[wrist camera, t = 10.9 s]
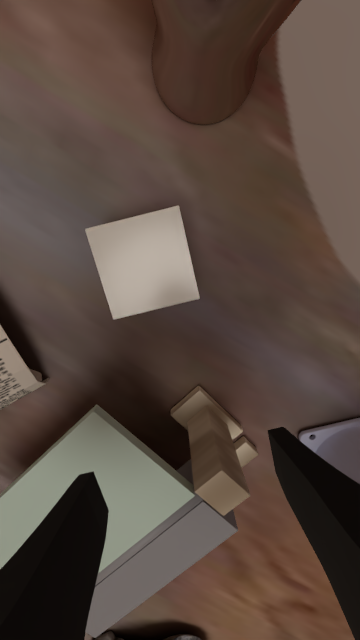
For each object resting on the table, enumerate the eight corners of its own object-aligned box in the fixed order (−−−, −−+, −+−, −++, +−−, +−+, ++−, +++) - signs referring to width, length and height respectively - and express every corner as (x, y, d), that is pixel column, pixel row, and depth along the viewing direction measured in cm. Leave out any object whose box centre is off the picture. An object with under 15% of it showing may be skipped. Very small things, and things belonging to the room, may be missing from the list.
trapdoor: (228, 476, 21) (242, 530, 17) (104, 575, 23) (91, 643, 19) (112, 374, 19) (96, 408, 15) (-15, 493, 21) (-59, 552, 17)
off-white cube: (176, 215, 19) (178, 205, 14) (192, 285, 20) (199, 298, 15) (106, 233, 19) (85, 229, 14) (126, 301, 20) (113, 319, 15)
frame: (260, 443, 23) (298, 527, 16) (100, 571, 26) (75, 689, 19) (198, 385, 22) (212, 449, 15) (35, 528, 25) (-17, 638, 18)
